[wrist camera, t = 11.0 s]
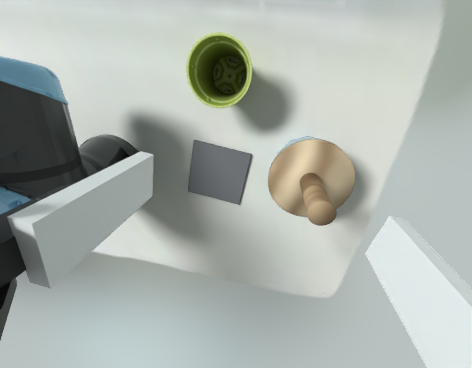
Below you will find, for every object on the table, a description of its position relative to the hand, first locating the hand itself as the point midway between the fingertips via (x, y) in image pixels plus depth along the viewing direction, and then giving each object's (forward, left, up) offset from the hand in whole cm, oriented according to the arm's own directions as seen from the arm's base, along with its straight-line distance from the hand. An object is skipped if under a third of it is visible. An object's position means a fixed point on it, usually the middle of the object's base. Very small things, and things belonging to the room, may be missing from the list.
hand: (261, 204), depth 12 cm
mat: (-8, -13, -31) cm, 34 cm away
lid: (+9, -7, -25) cm, 28 cm away
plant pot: (-9, +6, -31) cm, 33 cm away
